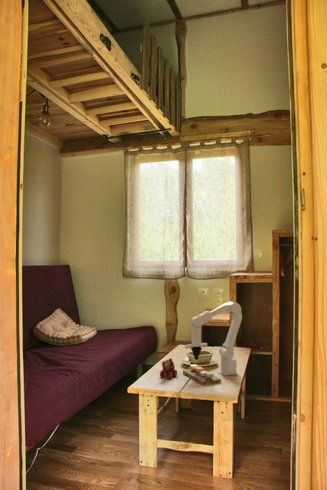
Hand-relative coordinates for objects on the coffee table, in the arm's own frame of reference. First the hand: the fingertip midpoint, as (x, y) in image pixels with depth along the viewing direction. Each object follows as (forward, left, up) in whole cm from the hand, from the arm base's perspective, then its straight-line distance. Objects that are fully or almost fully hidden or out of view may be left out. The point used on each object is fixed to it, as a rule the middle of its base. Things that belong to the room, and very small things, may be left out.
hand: (196, 359), depth 242 cm
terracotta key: (0, +3, -8) cm, 9 cm away
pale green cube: (0, +9, -9) cm, 13 cm away
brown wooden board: (0, +6, -9) cm, 11 cm away
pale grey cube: (0, +15, -8) cm, 17 cm away
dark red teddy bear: (+17, -3, -10) cm, 20 cm away
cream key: (0, -3, -8) cm, 8 cm away
